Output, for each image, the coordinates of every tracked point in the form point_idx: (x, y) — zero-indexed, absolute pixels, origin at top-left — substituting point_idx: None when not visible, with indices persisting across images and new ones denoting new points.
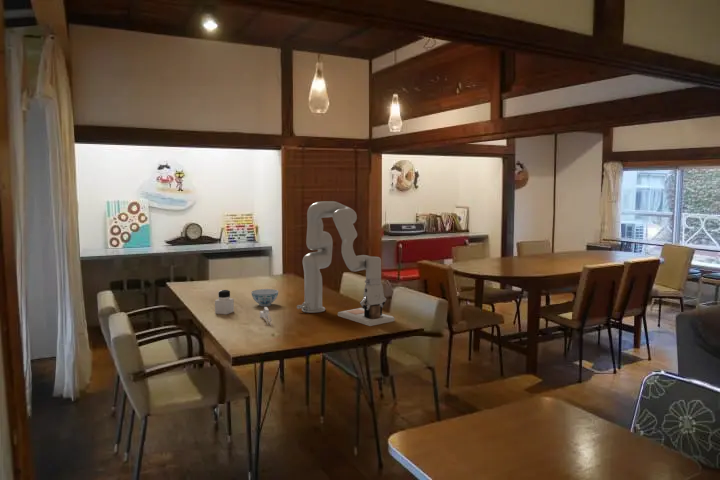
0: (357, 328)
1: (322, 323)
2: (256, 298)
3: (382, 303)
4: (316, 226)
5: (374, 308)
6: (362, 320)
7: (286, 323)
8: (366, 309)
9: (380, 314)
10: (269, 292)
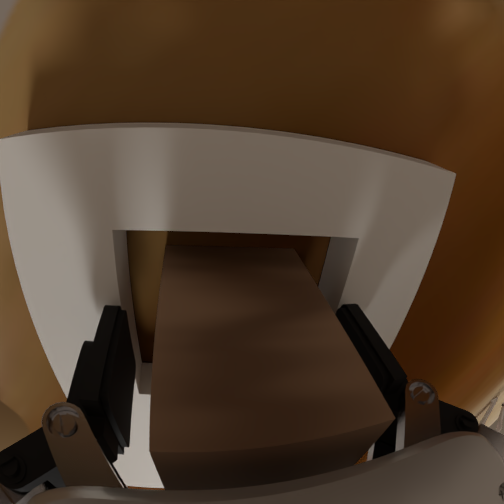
0: (500, 195)
1: (455, 380)
2: None
3: (42, 470)
4: None
5: (332, 394)
6: (409, 293)
7: (473, 406)
8: (429, 389)
9: (124, 320)
10: None
